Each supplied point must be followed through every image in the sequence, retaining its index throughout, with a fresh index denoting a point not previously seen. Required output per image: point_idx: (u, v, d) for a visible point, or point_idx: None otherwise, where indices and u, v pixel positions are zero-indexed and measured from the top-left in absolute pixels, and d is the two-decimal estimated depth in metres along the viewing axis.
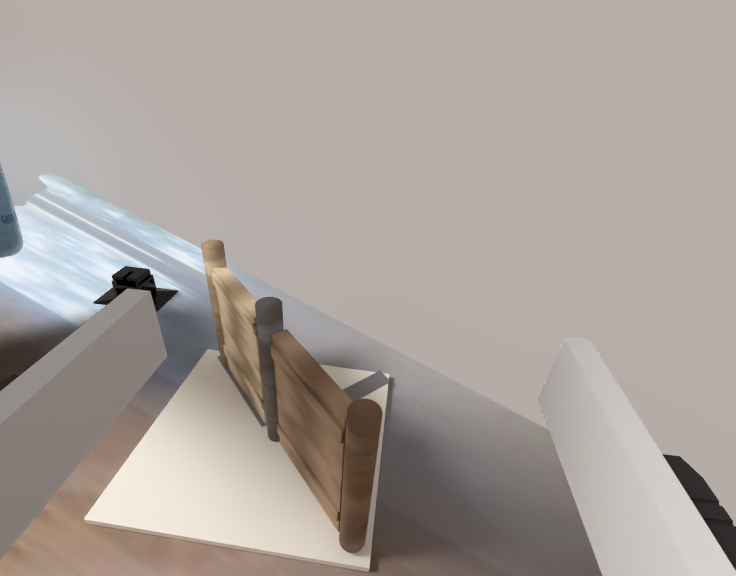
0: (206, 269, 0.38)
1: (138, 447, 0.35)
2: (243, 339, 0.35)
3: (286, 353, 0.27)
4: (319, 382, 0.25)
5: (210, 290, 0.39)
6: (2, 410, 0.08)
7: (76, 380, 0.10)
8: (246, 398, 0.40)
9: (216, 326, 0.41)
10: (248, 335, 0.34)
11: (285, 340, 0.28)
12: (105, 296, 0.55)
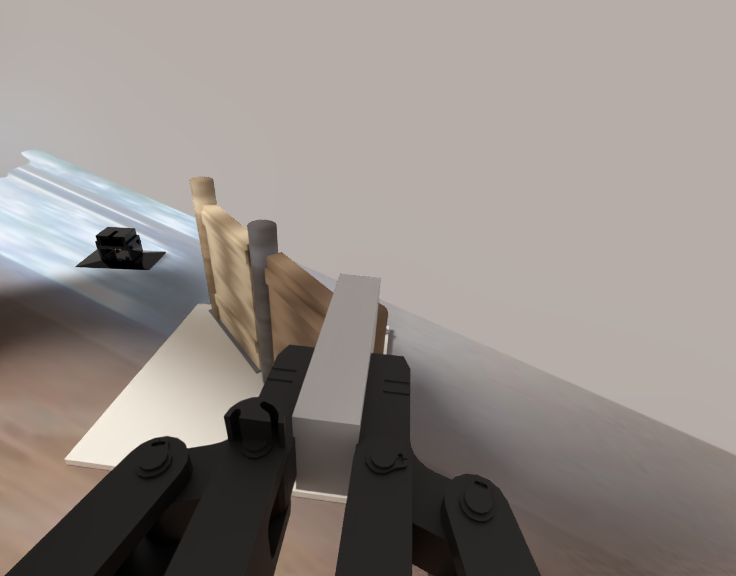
0: (195, 207, 0.36)
1: (124, 392, 0.33)
2: (235, 277, 0.33)
3: (281, 271, 0.26)
4: (318, 294, 0.23)
5: (200, 232, 0.37)
6: (328, 368, 0.10)
7: None
8: (239, 347, 0.38)
9: (207, 272, 0.39)
10: (240, 270, 0.32)
11: (280, 261, 0.26)
12: (87, 260, 0.52)
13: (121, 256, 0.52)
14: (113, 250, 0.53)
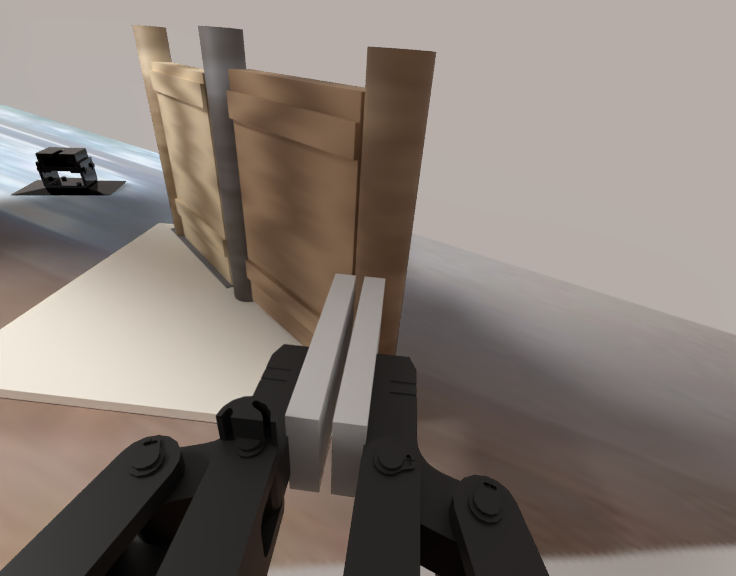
0: (142, 67, 0.27)
1: (40, 306, 0.24)
2: (194, 149, 0.24)
3: (251, 77, 0.17)
4: (309, 81, 0.14)
5: (151, 105, 0.28)
6: (321, 367, 0.10)
7: (340, 348, 0.11)
8: (206, 262, 0.29)
9: (164, 168, 0.30)
10: (199, 130, 0.23)
11: (249, 71, 0.17)
12: (25, 189, 0.42)
13: (70, 183, 0.43)
14: (58, 178, 0.44)
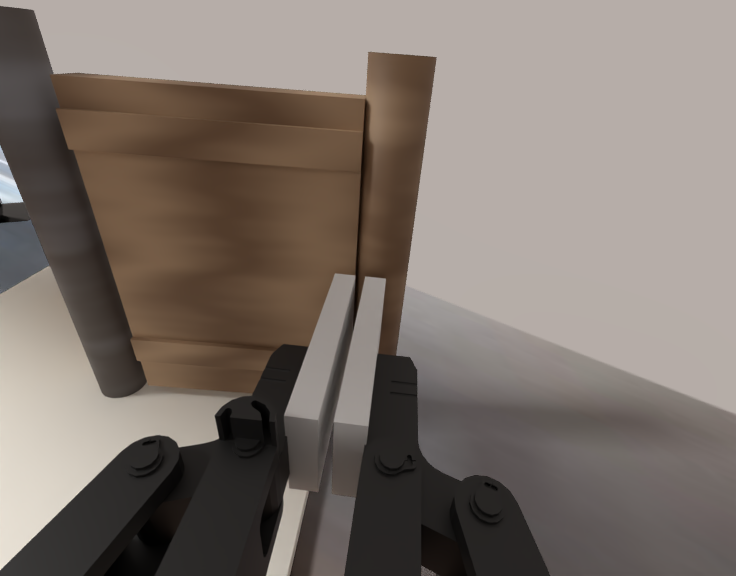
0: None
1: None
2: None
3: (125, 87, 0.12)
4: (255, 89, 0.12)
5: None
6: (320, 367, 0.10)
7: (340, 347, 0.11)
8: None
9: None
10: None
11: (98, 76, 0.12)
12: None
13: None
14: None
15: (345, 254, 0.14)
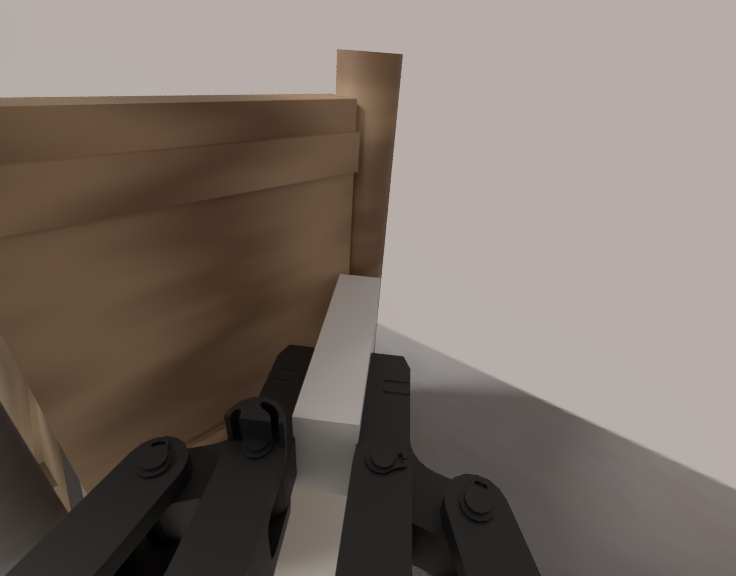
0: None
1: None
2: None
3: (66, 116, 0.07)
4: (246, 99, 0.10)
5: None
6: (328, 368, 0.10)
7: None
8: None
9: None
10: None
11: None
12: None
13: None
14: None
15: (341, 258, 0.14)
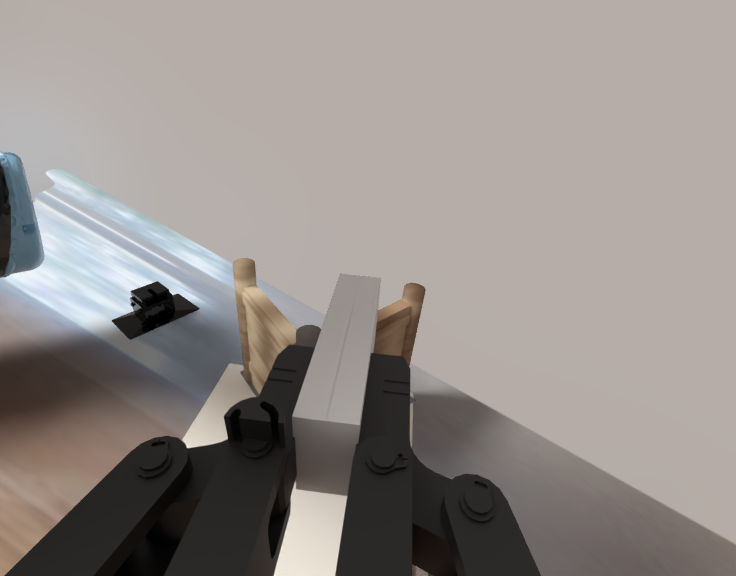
0: (236, 288, 0.37)
1: None
2: None
3: None
4: (381, 316, 0.34)
5: (239, 309, 0.38)
6: (328, 368, 0.10)
7: None
8: None
9: (243, 343, 0.41)
10: None
11: None
12: (128, 331, 0.50)
13: (158, 312, 0.53)
14: None
15: (399, 349, 0.39)
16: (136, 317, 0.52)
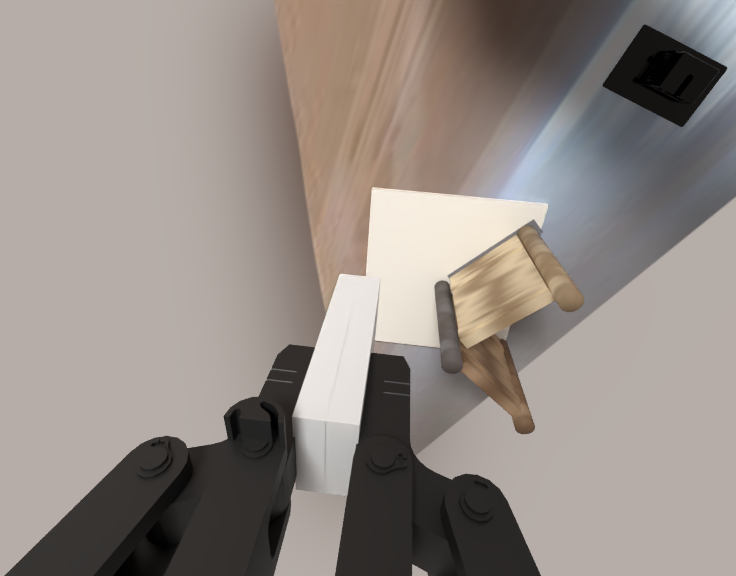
0: (554, 281, 0.34)
1: (426, 196, 0.44)
2: (481, 300, 0.41)
3: (470, 377, 0.40)
4: (495, 397, 0.41)
5: (545, 269, 0.36)
6: (327, 368, 0.10)
7: None
8: (476, 258, 0.48)
9: (532, 249, 0.40)
10: (472, 313, 0.40)
11: (467, 370, 0.40)
12: (619, 70, 0.37)
13: None
14: None
15: None
16: (650, 60, 0.36)
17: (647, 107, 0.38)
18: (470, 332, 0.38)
